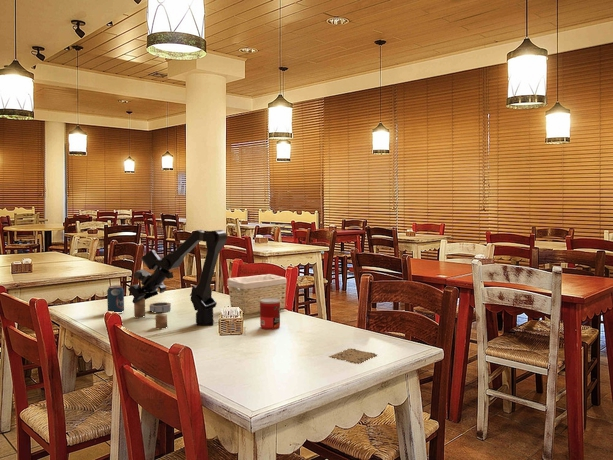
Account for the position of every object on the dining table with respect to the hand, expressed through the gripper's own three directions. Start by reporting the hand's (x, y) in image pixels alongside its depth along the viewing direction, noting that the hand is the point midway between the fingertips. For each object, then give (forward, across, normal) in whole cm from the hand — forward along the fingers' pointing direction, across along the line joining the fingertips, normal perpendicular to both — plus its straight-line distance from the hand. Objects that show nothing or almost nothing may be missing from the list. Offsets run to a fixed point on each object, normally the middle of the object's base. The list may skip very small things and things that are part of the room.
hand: (136, 301), depth 228 cm
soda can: (+14, -2, -5) cm, 15 cm away
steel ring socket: (+3, -13, +6) cm, 15 cm away
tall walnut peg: (+4, 0, +6) cm, 7 cm away
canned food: (-39, -5, +48) cm, 62 cm away
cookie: (-68, +19, +78) cm, 105 cm away
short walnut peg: (-11, +12, +20) cm, 25 cm away
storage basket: (-24, -33, +34) cm, 53 cm away
